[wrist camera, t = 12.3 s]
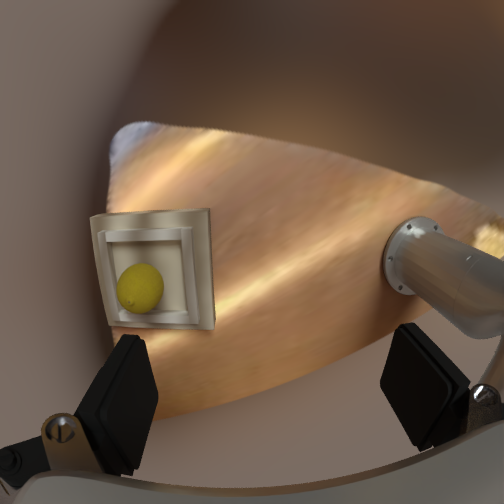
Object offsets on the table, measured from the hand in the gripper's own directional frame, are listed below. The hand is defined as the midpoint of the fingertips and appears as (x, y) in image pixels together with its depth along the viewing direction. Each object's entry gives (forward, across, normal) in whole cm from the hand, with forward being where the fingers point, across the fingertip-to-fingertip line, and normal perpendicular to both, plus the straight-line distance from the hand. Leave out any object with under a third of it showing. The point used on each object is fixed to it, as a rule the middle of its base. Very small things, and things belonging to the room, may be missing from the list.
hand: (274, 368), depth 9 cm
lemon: (+26, +13, +6) cm, 29 cm away
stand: (+28, +13, +6) cm, 32 cm away
